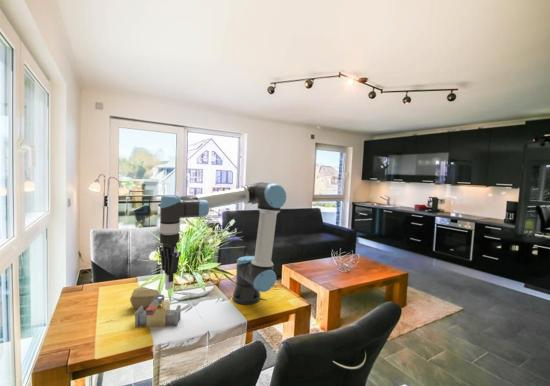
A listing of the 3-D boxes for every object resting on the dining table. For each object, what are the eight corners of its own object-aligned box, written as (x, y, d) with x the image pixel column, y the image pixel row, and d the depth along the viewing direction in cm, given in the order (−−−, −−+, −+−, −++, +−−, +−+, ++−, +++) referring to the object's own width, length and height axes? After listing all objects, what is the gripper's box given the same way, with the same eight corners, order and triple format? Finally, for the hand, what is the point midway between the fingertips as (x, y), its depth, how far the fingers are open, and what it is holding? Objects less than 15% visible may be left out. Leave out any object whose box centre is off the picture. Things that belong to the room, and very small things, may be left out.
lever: (154, 299, 127) (154, 294, 127) (165, 299, 128) (165, 294, 128) (143, 315, 113) (143, 310, 113) (155, 315, 114) (155, 309, 113)
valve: (180, 317, 130) (180, 297, 130) (177, 326, 123) (177, 304, 123) (140, 318, 128) (140, 298, 128) (134, 327, 121) (134, 305, 121)
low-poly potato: (122, 312, 134) (133, 307, 128) (124, 288, 139) (135, 283, 133) (152, 310, 145) (164, 306, 139) (153, 288, 150) (164, 283, 144)
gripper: (187, 234, 112) (186, 290, 114) (169, 229, 120) (169, 281, 122) (170, 237, 106) (169, 296, 108) (153, 231, 114) (152, 286, 116)
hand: (169, 288), depth 115 cm, fingers closed
